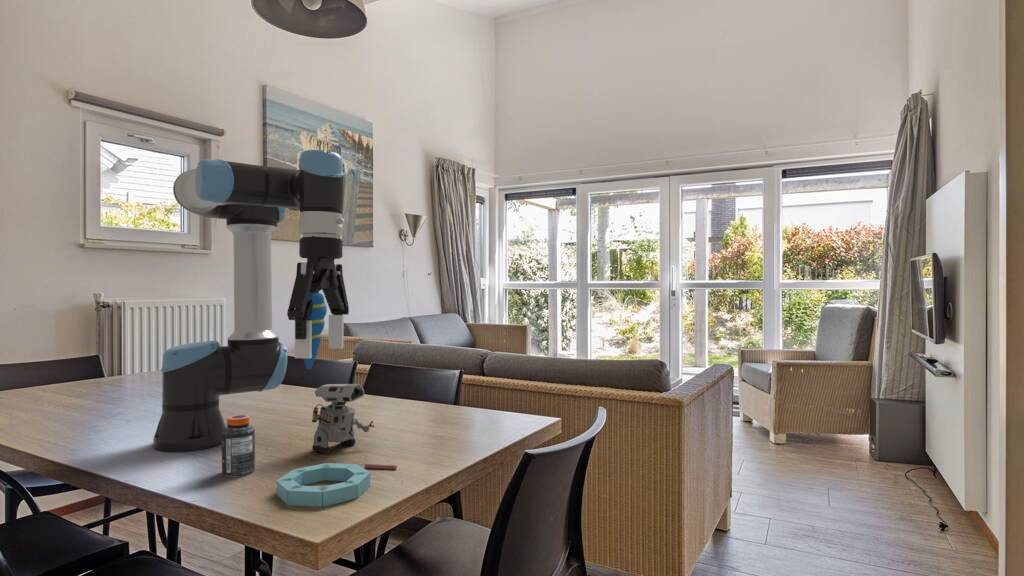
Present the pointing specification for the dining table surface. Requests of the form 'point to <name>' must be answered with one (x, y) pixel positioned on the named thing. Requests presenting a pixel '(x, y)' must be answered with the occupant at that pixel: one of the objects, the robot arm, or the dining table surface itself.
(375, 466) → the reddish pink rod
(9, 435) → the dining table surface
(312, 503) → the teal octagonal ring
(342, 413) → the figurine
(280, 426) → the dining table surface
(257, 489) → the dining table surface
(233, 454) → the pill bottle
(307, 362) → the ornament
